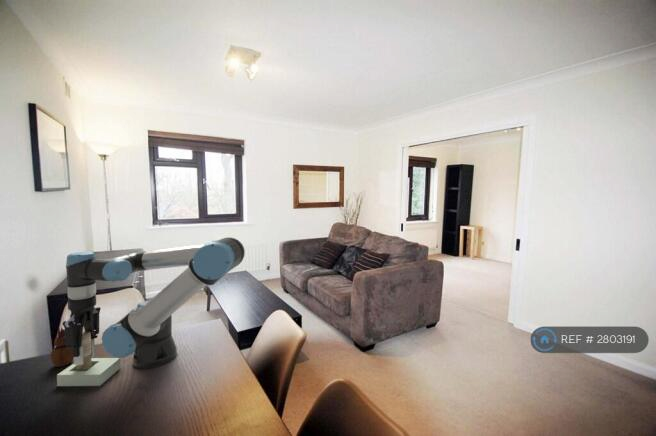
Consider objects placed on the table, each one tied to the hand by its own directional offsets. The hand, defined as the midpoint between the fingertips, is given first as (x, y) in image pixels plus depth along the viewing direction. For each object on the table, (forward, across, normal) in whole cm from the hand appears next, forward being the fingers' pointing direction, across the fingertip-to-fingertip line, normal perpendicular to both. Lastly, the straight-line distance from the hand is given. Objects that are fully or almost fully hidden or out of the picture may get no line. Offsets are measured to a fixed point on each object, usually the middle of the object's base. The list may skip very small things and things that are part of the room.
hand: (84, 360), depth 99 cm
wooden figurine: (+6, -8, -14) cm, 17 cm away
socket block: (+6, 0, +2) cm, 6 cm away
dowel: (+5, 0, 0) cm, 5 cm away
